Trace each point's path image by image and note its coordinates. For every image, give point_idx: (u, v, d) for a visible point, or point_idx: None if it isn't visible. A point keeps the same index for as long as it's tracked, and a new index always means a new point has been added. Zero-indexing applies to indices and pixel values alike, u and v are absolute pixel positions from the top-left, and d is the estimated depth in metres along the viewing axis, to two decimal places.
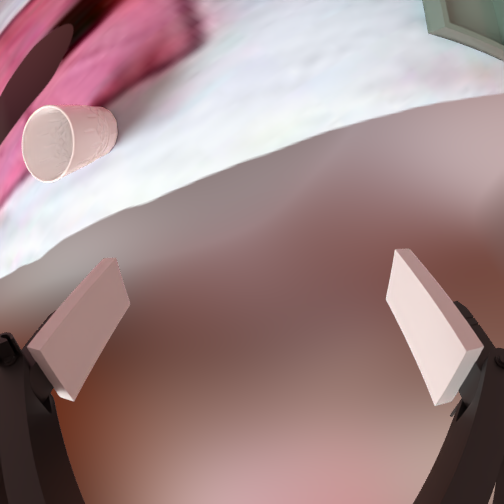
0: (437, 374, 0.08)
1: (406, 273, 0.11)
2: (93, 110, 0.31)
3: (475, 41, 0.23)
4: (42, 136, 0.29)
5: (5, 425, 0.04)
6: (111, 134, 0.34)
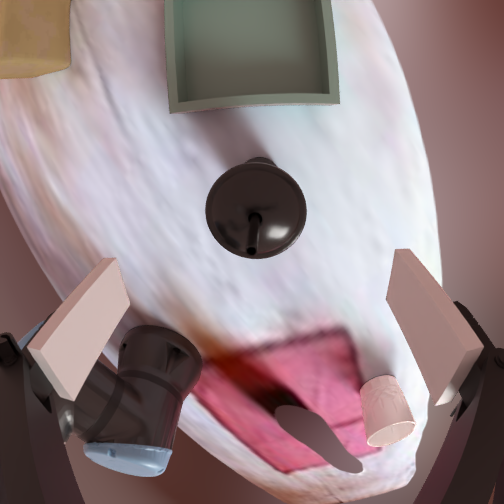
0: (437, 374, 0.08)
1: (406, 273, 0.11)
2: (373, 398, 0.45)
3: None
4: None
5: (5, 425, 0.04)
6: (390, 382, 0.47)
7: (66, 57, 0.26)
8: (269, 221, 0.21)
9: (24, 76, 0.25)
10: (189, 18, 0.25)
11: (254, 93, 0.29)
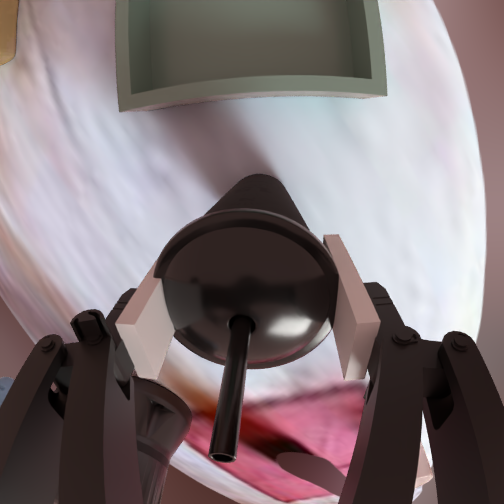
0: (344, 349, 0.09)
1: None
2: None
3: None
4: None
5: (75, 411, 0.05)
6: None
7: (8, 46, 0.15)
8: (270, 329, 0.10)
9: None
10: None
11: None
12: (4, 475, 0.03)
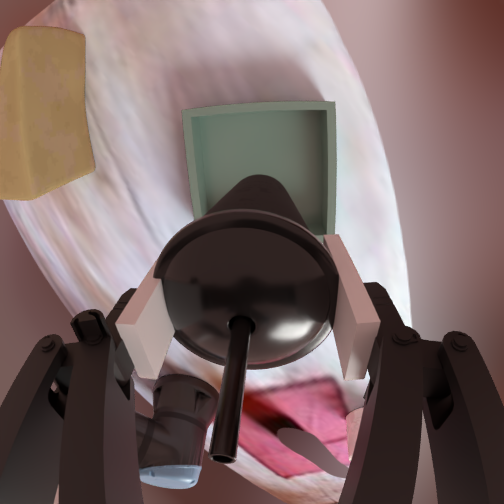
0: (344, 349, 0.09)
1: None
2: (355, 426, 0.55)
3: None
4: None
5: (75, 411, 0.05)
6: None
7: (91, 164, 0.36)
8: (270, 329, 0.10)
9: None
10: (207, 146, 0.35)
11: None
12: (4, 475, 0.03)
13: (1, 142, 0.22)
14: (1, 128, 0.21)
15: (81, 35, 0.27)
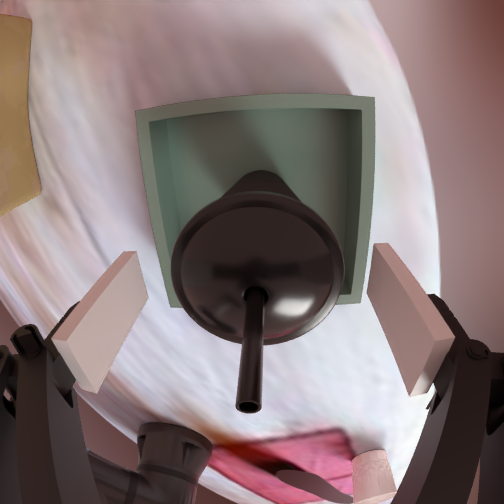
0: (410, 365, 0.08)
1: (383, 266, 0.11)
2: (362, 471, 0.44)
3: None
4: None
5: (24, 419, 0.05)
6: (379, 457, 0.46)
7: (34, 187, 0.25)
8: (281, 300, 0.12)
9: None
10: (179, 162, 0.24)
11: None
12: None
13: None
14: None
15: (26, 20, 0.16)
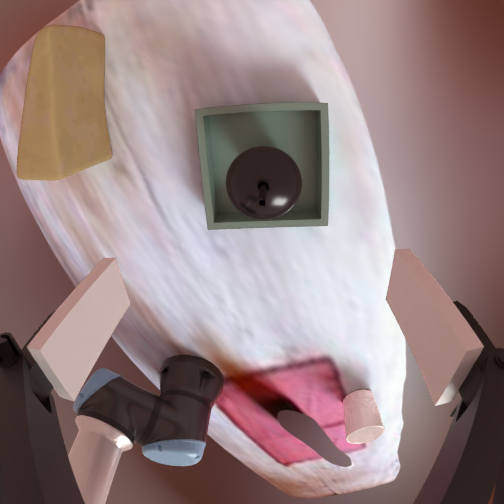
0: (437, 374, 0.08)
1: (406, 273, 0.11)
2: (352, 407, 0.60)
3: None
4: (354, 431, 0.60)
5: (5, 425, 0.04)
6: (366, 395, 0.62)
7: (109, 152, 0.40)
8: (274, 188, 0.28)
9: None
10: (216, 141, 0.40)
11: None
12: None
13: (30, 128, 0.26)
14: (30, 115, 0.26)
15: (101, 35, 0.32)
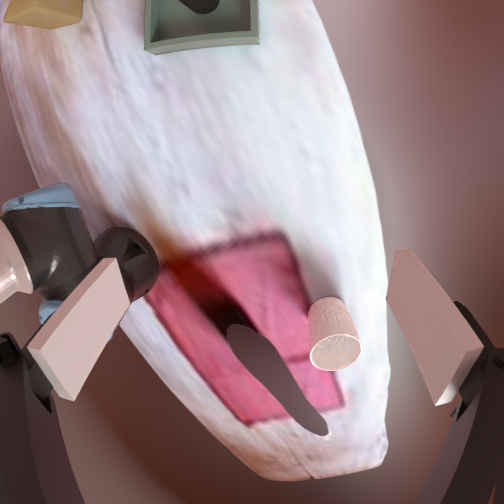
0: (437, 374, 0.08)
1: (406, 273, 0.11)
2: (317, 315, 0.53)
3: (257, 1, 0.31)
4: (323, 354, 0.53)
5: (5, 425, 0.04)
6: (336, 303, 0.54)
7: (78, 14, 0.32)
8: None
9: (46, 26, 0.31)
10: None
11: None
12: None
13: None
14: None
15: None
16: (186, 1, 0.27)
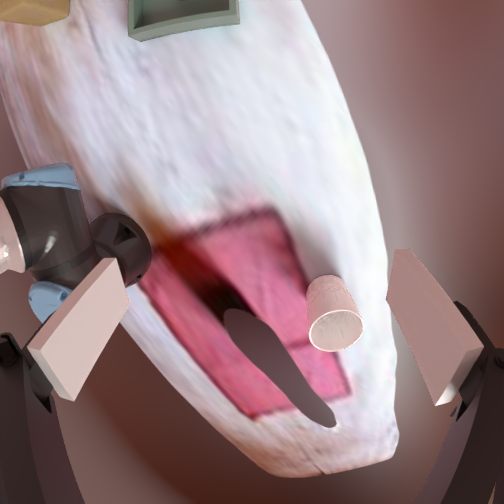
0: (437, 374, 0.08)
1: (406, 273, 0.11)
2: (315, 293, 0.51)
3: None
4: (323, 334, 0.51)
5: (5, 425, 0.04)
6: (334, 280, 0.53)
7: (66, 10, 0.31)
8: None
9: (36, 23, 0.30)
10: None
11: None
12: None
13: None
14: None
15: None
16: None
